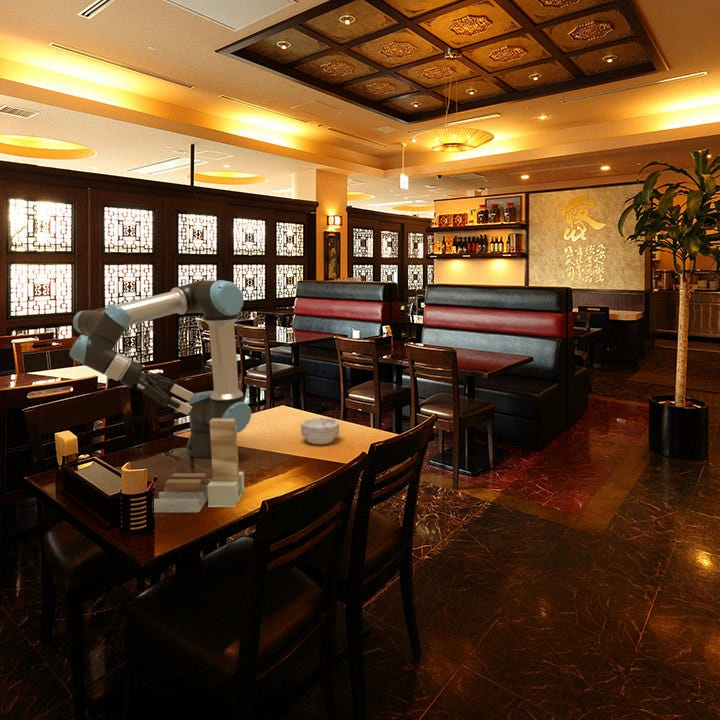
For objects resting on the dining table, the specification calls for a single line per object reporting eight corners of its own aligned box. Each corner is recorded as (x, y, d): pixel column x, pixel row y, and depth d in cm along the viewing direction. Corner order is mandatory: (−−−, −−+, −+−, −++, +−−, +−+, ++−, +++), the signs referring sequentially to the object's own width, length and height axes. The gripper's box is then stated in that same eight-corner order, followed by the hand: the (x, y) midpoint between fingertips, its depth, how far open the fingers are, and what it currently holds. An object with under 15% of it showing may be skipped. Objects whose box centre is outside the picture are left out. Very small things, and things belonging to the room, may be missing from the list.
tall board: (216, 495, 168) (212, 418, 164) (239, 495, 167) (236, 418, 163) (214, 499, 165) (209, 421, 161) (237, 499, 165) (233, 421, 160)
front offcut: (169, 498, 166) (168, 479, 165) (203, 498, 165) (201, 479, 164) (166, 502, 163) (165, 482, 162) (200, 502, 163) (199, 482, 162)
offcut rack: (174, 491, 174) (173, 476, 174) (216, 491, 174) (215, 476, 173) (153, 517, 157) (151, 500, 156) (199, 517, 157) (197, 500, 156)
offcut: (175, 492, 170) (173, 473, 169) (207, 492, 170) (206, 473, 169) (172, 495, 168) (170, 476, 167) (205, 495, 168) (204, 476, 167)
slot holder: (219, 493, 173) (218, 470, 171) (245, 493, 173) (244, 470, 171) (207, 511, 160) (206, 487, 159) (235, 511, 160) (234, 486, 159)
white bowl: (341, 435, 230) (341, 417, 228) (336, 447, 215) (336, 428, 214) (305, 435, 231) (304, 416, 230) (297, 446, 216) (297, 427, 215)
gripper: (124, 370, 176) (185, 401, 183) (112, 393, 153) (182, 428, 160) (136, 350, 176) (197, 382, 183) (125, 371, 152) (195, 406, 160)
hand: (190, 403), depth 172 cm, fingers open, 13 cm apart
